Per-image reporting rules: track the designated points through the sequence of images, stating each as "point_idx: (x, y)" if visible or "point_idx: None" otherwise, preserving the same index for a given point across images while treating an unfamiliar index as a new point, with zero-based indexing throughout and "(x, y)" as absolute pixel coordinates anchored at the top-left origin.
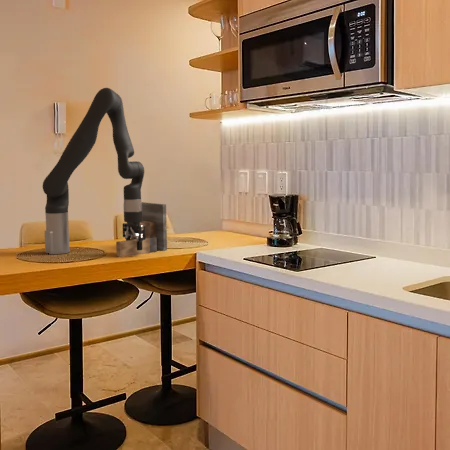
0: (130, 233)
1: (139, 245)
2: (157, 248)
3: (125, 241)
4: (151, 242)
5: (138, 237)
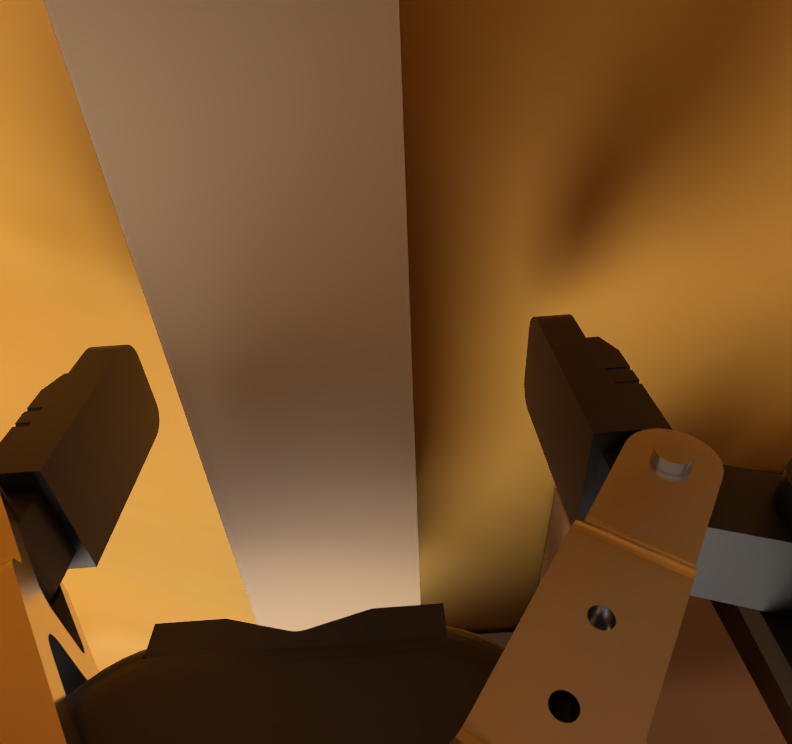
0: (368, 646)
1: (11, 429)
2: (508, 641)
3: (167, 218)
4: None
5: (691, 677)
